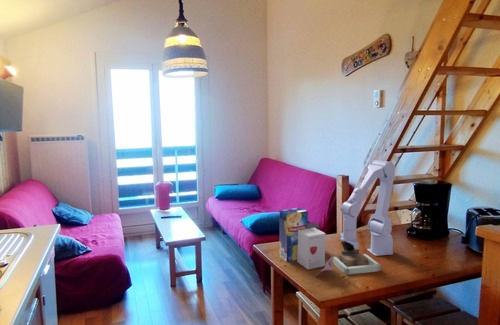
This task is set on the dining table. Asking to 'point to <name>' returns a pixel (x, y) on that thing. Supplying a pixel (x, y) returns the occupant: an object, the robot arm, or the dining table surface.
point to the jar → (313, 226)
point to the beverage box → (291, 231)
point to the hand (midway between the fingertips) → (348, 257)
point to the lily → (328, 266)
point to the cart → (353, 258)
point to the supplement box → (311, 248)
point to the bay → (346, 270)
